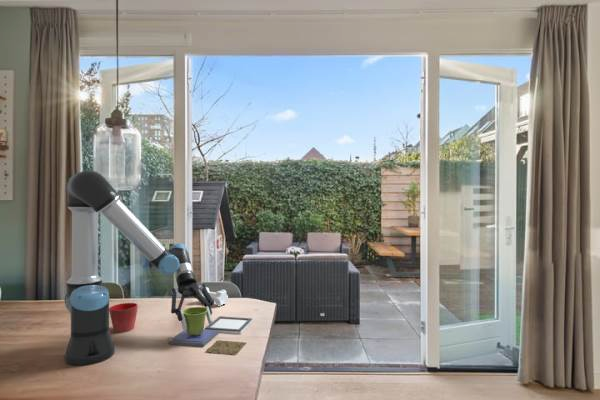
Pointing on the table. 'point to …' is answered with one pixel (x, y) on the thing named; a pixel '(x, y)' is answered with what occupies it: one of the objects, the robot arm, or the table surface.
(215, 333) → the ink pad
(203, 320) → the plant pot
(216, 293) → the bone shaped toy
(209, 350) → the brown square mat
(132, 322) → the flower pot
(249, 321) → the marked board
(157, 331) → the table surface
